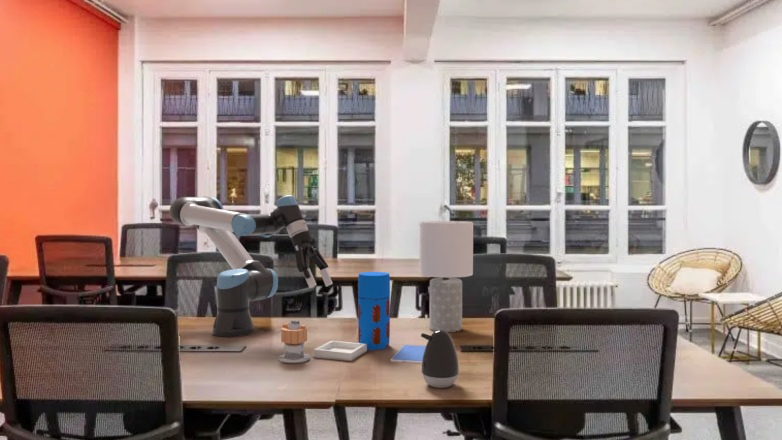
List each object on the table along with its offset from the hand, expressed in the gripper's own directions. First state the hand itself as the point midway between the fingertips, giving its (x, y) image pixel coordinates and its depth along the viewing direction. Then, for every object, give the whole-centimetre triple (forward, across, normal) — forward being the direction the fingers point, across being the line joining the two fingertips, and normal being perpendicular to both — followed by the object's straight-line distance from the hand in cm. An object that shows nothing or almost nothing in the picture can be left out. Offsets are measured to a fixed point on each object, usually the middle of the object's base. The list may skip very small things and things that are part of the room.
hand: (321, 285), depth 224 cm
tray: (+26, -20, -6) cm, 34 cm away
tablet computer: (+37, -12, -26) cm, 47 cm away
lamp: (+33, +29, -28) cm, 52 cm away
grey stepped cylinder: (+22, -31, +4) cm, 38 cm away
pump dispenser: (+47, -40, -39) cm, 73 cm away
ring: (+17, -31, +2) cm, 36 cm away
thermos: (+28, -6, -12) cm, 31 cm away
